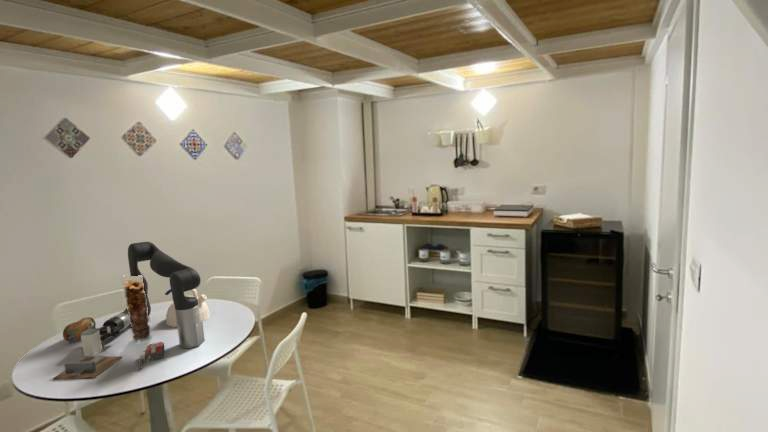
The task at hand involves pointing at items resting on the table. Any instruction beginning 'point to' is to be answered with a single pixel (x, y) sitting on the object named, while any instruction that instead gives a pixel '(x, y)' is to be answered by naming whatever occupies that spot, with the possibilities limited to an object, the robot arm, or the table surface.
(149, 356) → the walkie-talkie
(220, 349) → the table surface
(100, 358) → the rail
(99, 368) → the mounting board
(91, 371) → the block
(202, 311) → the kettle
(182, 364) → the table surface
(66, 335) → the tin
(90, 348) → the block
